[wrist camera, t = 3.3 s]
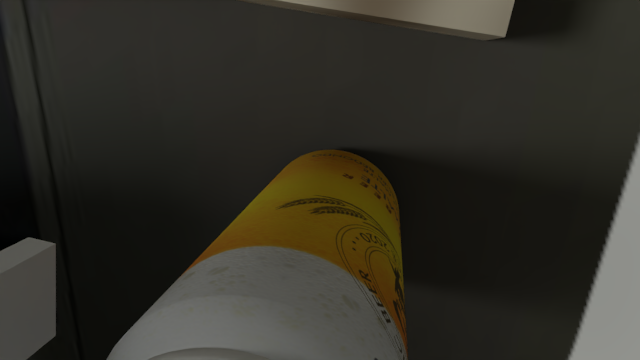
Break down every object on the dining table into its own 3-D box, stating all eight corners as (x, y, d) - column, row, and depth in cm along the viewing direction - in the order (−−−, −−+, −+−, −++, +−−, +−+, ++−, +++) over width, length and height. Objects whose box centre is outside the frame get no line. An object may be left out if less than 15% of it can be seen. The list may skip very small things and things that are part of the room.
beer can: (412, 255, 22) (455, 632, 8) (291, 279, 23) (129, 643, 9) (380, 131, 21) (360, 300, 6) (254, 163, 22) (-4, 367, 7)
